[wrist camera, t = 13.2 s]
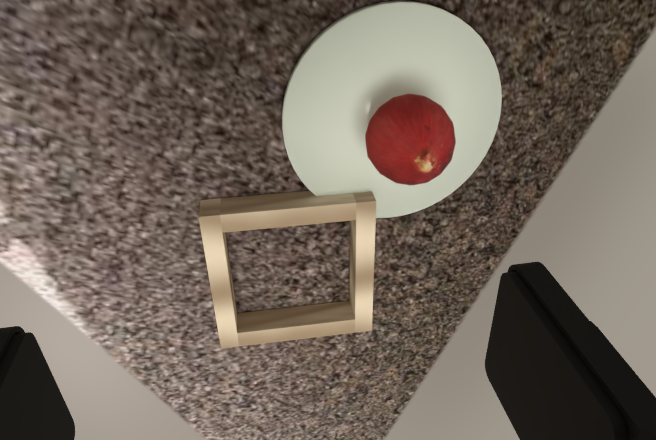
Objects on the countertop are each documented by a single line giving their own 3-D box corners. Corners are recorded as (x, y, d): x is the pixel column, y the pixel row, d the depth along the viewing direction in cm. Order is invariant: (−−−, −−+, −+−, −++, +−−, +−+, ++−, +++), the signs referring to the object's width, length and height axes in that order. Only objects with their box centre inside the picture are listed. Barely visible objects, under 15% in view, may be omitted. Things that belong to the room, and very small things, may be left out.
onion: (450, 106, 38) (497, 152, 31) (402, 169, 40) (436, 225, 33) (387, 64, 35) (423, 102, 29) (340, 133, 38) (362, 184, 31)
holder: (200, 200, 40) (198, 216, 38) (369, 185, 41) (376, 200, 39) (221, 328, 47) (221, 348, 44) (365, 311, 48) (371, 330, 46)
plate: (273, 6, 33) (274, 8, 33) (512, -5, 35) (519, -3, 34) (288, 220, 42) (289, 226, 41) (480, 202, 44) (485, 208, 43)
